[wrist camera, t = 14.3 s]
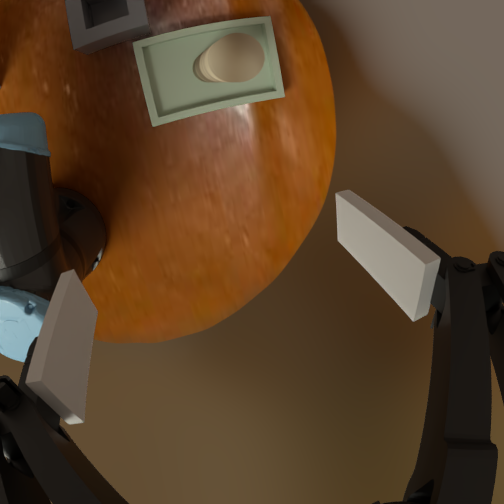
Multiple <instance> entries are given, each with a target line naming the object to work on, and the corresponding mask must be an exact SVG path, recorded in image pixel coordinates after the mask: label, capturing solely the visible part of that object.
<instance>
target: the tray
mask: <svg viewBox="0 0 504 504" xmlns="http://www.w3.org/2000/svg"><path fill="white" fill-rule="evenodd" d="M232 33H244V34H248V35H250V36H252V37H254V38H255V39H256V40H257V41H258V42H259V43H260V44H261V46H262V48H263V50H264V55H265V61H264V65H263V67H262V69H261V71H260V72H259V74H258V75H256V76H255V77H254V78H252V79H250V80H248V81H245V82H209V83H208V82H203V81H200V80H199V79H198V78H196V76H195V75H194V73H193V62H194V60H195V59H196V58H197V57H198V56H199V55H200V54H201V53H202V52H204V51H205V50H206V49H208V48H209V47H210V46H211V45H213V44H214V43H215V42H217V41H218V40H219V39H221V38H222V37H224V36H226V35H228V34H232ZM132 43H133V48H134V53H135V57H136V62H137V66H138V70H139V75H140V79H141V83H142V87H143V91H144V95H145V99H146V103H147V107H148V111H149V115H150V119H151V123H152V127H155V126H158V125H162V124H165V123H168V122H172V121H176V120H179V119H183V118H187V117H190V116H194V115H198V114H202V113H206V112H210V111H215V110H219V109H223V108H228V107H233V106H237V105H242V104H247V103H252V102H258V101H263V100H269V99H275V98H281V97H285V94H284V88H283V82H282V76H281V70H280V65H279V59H278V53H277V48H276V43H275V37H274V32H273V27H272V22H271V17H270V16H265V17H254V18H245V19H237V20H230V21H223V22H217V23H211V24H206V25H200V26H195V27H190V28H186V29H181V30H177V31H172V32H168V33H164V34H160V35H157V36H153V37H149V38H146V39H142V40H139V41H136V42H132Z"/></svg>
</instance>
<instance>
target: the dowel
mask: <svg viewBox="0 0 504 504" xmlns="http://www.w3.org/2000/svg"><path fill="white" fill-rule="evenodd" d="M264 61H265V55H264V50H263V48H262V46H261V44H260V43H259V42H258V41H257V40H256V39H255V38H254V37H252V36H250V35H248V34H244V33H232V34H228V35H226V36H224V37H222V38H221V39H219V40H218V41H217V42H215V43H214V44H213V45H211V46H210V47H209V48H208V49H206V50H205V51H204V52H202V53H201V54H200V55H199V56H198V57H197V58H196V59H195V60H194V62H193V73H194V75H195V76H196V78H198V79H199V80H200V81H203V82H208V83H209V82H245V81H248V80H250V79H252V78H254V77H255V76H256V75H258V74H259V72H260V71H261V69H262V67H263V65H264Z"/></svg>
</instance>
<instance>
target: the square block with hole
mask: <svg viewBox="0 0 504 504" xmlns="http://www.w3.org/2000/svg"><path fill="white" fill-rule="evenodd" d="M65 4H66V11H67V17H68V23H69V29H70V34H71V40H72V45H73V50H75V51H78V52H81V53H84V54H87V55H88V54H91V53H93V52H96V51H99V50H101V49H104V48H107V47H110V46H112V45H115V44H118V43H121V42H124V41H128V40H131V39H134V38H137V37H141V36H144V35H148V34H151V30H150V25H149V20H148V15H147V10H146V5H145V0H65Z"/></svg>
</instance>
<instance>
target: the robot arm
mask: <svg viewBox="0 0 504 504" xmlns="http://www.w3.org/2000/svg"><path fill="white" fill-rule="evenodd" d="M49 157H51V153H50V151H48V144H47V136H46V126H45V122H44V120H43V119H42V117H41V116H39V115H38V114H36V113H32V112H24V113H10V114H0V353H1V354H3V355H5V356H7V357H9V358H11V359H14V360H17V361H21V362H24V364H25V365H24V366H23V369H22V373H21V377H20V380H19V384H18V386H17V385H16V384H15V383H14V382H13V381H12V380H11V379H10V377H8V376H6V375H3V376H0V504H51V502H52V503H53V504H129V503H128V502H127V501H126V500H125V499H124V498H123V497H122V496H121V495H120V494H119V493H118V492H117V491H116V490H115V489H114V488H113V487H112V486H111V485H110V484H109V483H108V482H107V480H106V479H105V478H104V477H103V476H102V475H101V474H100V473H99V472H98V471H97V469H96V468H95V467H94V466H93V465H92V464H91V462H90V461H89V460H88V459H87V458H86V456H85V455H84V454H83V453H82V452H81V450H80V449H79V448H78V447H77V445H76V444H75V443H74V442H73V440H72V439H71V438H70V436H69V435H68V433H67V432H66V431H65V429H64V428H63V427H61V426H60V425H59V423H60V417H61V418H62V419H63V420H64V421H66V422H67V423H68V424H76V423H84V417H85V403H86V392H87V382H88V373H89V365H90V357H91V350H92V343H93V337H94V331H95V325H96V319H97V314H98V311H97V309H96V308H95V306H94V304H93V303H92V301H91V299H90V297H89V296H88V294H87V292H86V290H85V289H84V287H83V285H82V281H83V280H84V279H85V278H86V277H87V276H88V275H89V274H90V273H91V272H92V271H93V270H94V269H95V268H96V267H97V265H98V264H99V262H100V260H101V258H102V255H103V251H104V248H105V243H106V230H105V225H104V222H103V219H102V217H101V215H100V213H99V211H98V210H97V208H96V207H95V206H94V205H93V203H92V202H91V201H90V200H88V199H87V198H86V197H85V196H83V195H82V194H80V193H78V192H76V191H73V190H70V189H66V188H53V186H52V178H51V169H50V159H49ZM336 209H337V231H338V241H339V242H340V243H341V244H342V245H343V246H344V247H345V248H346V249H347V251H349V253H351V255H352V256H353V257H354V258H355V259H356V260H357V261H358V262H359V263H360V264H361V265H362V266H363V267H364V268H365V269H366V270H367V271H368V272H369V273H370V274H371V276H372V277H373V278H374V279H375V280H376V281H377V282H378V283H379V284H380V285H381V286H382V287H383V289H384V290H385V291H386V292H387V293H388V294H389V295H390V296H391V297H392V298H393V299H394V301H395V302H396V303H397V304H398V305H399V306H400V307H401V308H402V309H403V311H404V312H405V313H406V314H407V315H408V316H409V317H410V318H411V320H412V321H416V320H417V319H420V318H421V317H423V316H425V315H427V314H428V311H429V306H430V303H431V304H432V305H433V306H434V307H435V308H436V311H435V314H434V318H433V321H432V324H431V328H433V326H434V338H433V339H434V340H433V355H432V367H431V377H430V387H429V395H428V402H427V409H426V416H425V422H424V428H423V433H422V438H421V443H420V449H419V453H418V458H417V462H416V466H415V469H414V472H413V474H412V476H411V478H410V480H409V483H408V485H407V488H406V491H405V494H404V498H403V501H400V502H388V503H383V504H491V501H492V496H493V489H494V483H495V476H496V469H497V459H498V449H497V447H496V445H495V444H493V443H492V442H491V440H490V431H491V403H492V401H491V400H492V398H491V397H492V395H491V391H492V390H491V362H490V356H491V359H492V362H493V366H494V369H495V373H496V376H497V380H498V384H499V387H500V391H501V395H502V400H503V403H504V306H503V304H502V303H504V252H501V251H495V252H492V253H491V254H490V256H489V260H488V263H484V264H477V265H476V264H475V263H474V262H473V261H471V260H469V259H468V258H464V257H453V258H451V256H449V255H448V254H447V253H445V252H444V251H443V250H442V249H441V248H439V247H438V246H437V245H435V244H434V243H433V242H431V241H430V240H429V239H428V238H425V237H424V235H422V234H421V233H420V232H418V231H417V230H415V229H412V228H410V227H407V226H405V227H401V226H399V225H398V224H397V223H395V222H394V221H393V220H391V219H390V218H388V217H387V216H386V215H384V214H383V213H382V212H380V211H379V210H377V209H376V208H375V207H373V206H372V205H370V204H369V203H368V202H366V201H364V200H363V199H362V198H360V197H359V196H358V195H356V194H355V193H353V192H352V191H350V190H345V191H341V192H337V193H336ZM5 457H6V458H7V460H6V458H5ZM50 500H51V502H50ZM373 504H380V502H379V501H377V502H375V503H373Z"/></svg>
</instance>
